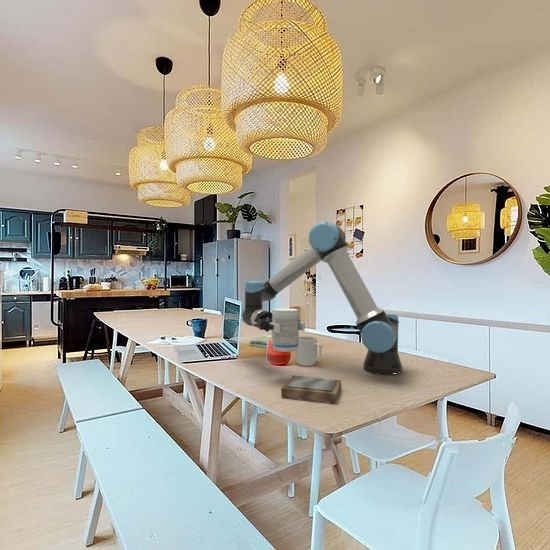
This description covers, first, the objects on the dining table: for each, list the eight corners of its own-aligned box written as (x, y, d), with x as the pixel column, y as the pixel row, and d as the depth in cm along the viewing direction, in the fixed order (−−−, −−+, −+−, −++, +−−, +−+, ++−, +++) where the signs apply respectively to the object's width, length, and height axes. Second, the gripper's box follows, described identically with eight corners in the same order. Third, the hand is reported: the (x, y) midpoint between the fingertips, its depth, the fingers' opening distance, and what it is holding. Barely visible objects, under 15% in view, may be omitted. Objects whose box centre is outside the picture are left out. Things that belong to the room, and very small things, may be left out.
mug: (291, 363, 159) (292, 338, 159) (304, 360, 166) (305, 335, 165) (314, 369, 151) (314, 342, 151) (326, 365, 157) (327, 339, 157)
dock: (341, 388, 126) (341, 379, 126) (335, 403, 112) (335, 392, 112) (292, 383, 131) (292, 374, 131) (281, 397, 117) (281, 386, 117)
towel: (282, 352, 184) (282, 341, 184) (248, 346, 196) (249, 336, 196) (301, 346, 199) (301, 336, 199) (268, 341, 211) (268, 332, 211)
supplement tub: (303, 350, 133) (304, 309, 133) (281, 353, 128) (282, 311, 128) (288, 345, 141) (288, 307, 141) (266, 348, 136) (267, 308, 136)
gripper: (286, 327, 155) (317, 336, 136) (238, 330, 145) (263, 340, 125) (287, 309, 155) (317, 315, 136) (238, 311, 145) (263, 318, 125)
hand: (291, 327), depth 130 cm, fingers closed on supplement tub, 9 cm apart
